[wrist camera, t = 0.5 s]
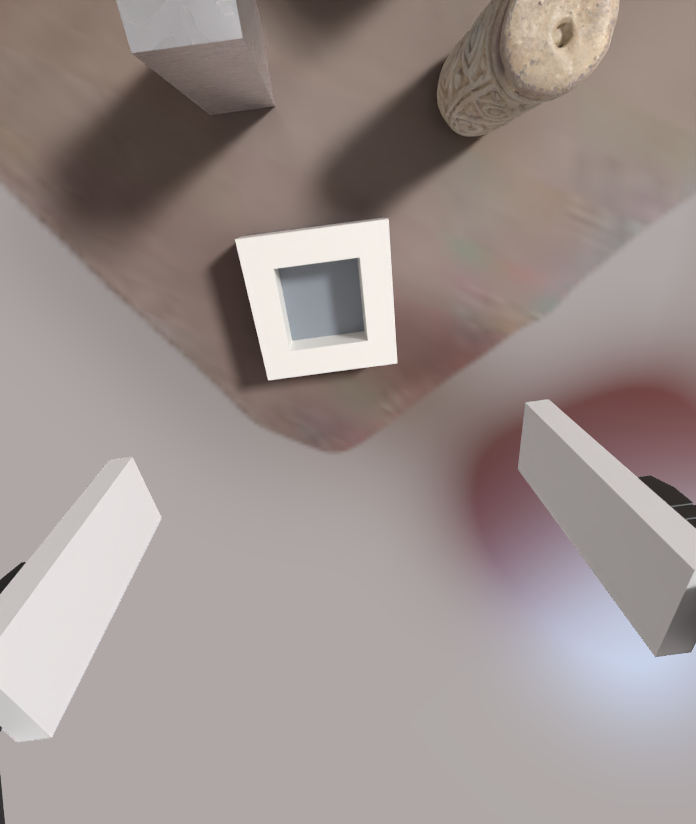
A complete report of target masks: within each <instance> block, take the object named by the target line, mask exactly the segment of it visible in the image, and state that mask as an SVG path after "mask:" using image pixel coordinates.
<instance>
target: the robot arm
mask: <svg viewBox="0 0 696 824" xmlns="http://www.w3.org/2000/svg"><path fill="white" fill-rule="evenodd" d="M518 470H519V471H520V472H521V474H522V475H523V476H524V478H525V479H526V481H527V482H528V483H529V485H530V486H531V488H532V489H533V490H534V492H535V493H536V494H537V496H538V497H539V498H540V500H541V501H542V503H543V504H544V505H545V507H546V508H547V509H548V511H549V512H550V514H551V515H552V516H553V518H554V519H555V520H556V522H557V523H558V524H559V526H560V527H561V528H562V530H563V531H564V533H565V534H566V535H567V537H568V538H569V540H570V541H571V542H572V544H573V545H574V546H575V548H576V549H577V550H578V552H579V553H580V555H581V556H582V557H583V559H584V560H585V561H586V563H587V564H588V566H589V567H590V568H591V569H592V571H593V572H594V574H595V575H596V576H597V578H598V579H599V580H600V582H601V583H602V585H603V586H604V587H605V589H606V590H607V591H608V593H609V594H610V596H611V597H612V598H613V600H614V601H615V602H616V604H617V605H618V607H619V608H620V609H621V611H622V612H623V613H624V615H625V616H626V617H627V618H628V620H629V621H630V623H631V624H632V626H633V627H634V628H635V630H636V631H637V632H638V634H639V635H640V636H641V638H642V639H643V641H644V642H645V643H646V645H647V646H648V647H649V649H650V650H651V652H652V653H653V654H654V656H655V657H659V656H666V655H674V654H681V653H689V652H691V651H692V649H693V647H694V645H695V643H696V505H693V504H692V502H691V501H690V500H689V499H688V498H687V497H685V496H684V495H683V494H682V493H680V492H679V491H678V490H677V489H676V488H674V487H672V486H670V485H668V484H666V483H664V482H662V481H660V480H658V479H656V478H654V477H652V476H644V477H636V476H635V475H634V474H633V473H632V472H631V471H629V470H628V469H627V468H626V467H625V466H624V465H623V464H621V463H620V462H619V461H618V460H617V459H616V458H615V457H613V456H612V455H611V454H610V453H609V452H608V451H607V450H606V449H604V448H603V447H602V446H601V445H600V444H599V443H598V442H596V441H595V440H594V439H593V438H592V437H591V436H590V435H588V434H587V433H586V432H585V431H584V430H583V429H582V428H580V427H579V426H578V425H577V424H576V423H575V422H574V421H572V420H571V419H570V418H569V417H568V416H567V415H566V414H565V413H563V412H562V411H561V410H560V409H559V408H557V407H556V406H555V405H554V404H553V403H552V402H551V401H550V400H549V399H548V400H540V401H534V402H526V403H525V411H524V420H523V429H522V438H521V449H520V457H519V466H518ZM160 520H161V516H160V514H159V511H158V509H157V507H156V505H155V503H154V501H153V499H152V497H151V495H150V493H149V491H148V489H147V486H146V485H145V483H144V480H143V478H142V476H141V474H140V472H139V470H138V468H137V466H136V463H135V461H134V459H133V457H127V458H120V459H113V460H109V461H108V462H107V464H106V465H105V466H104V467H103V469H102V470H101V471H100V472H99V473H98V475H97V476H96V477H95V478H94V480H93V481H92V482H91V483H90V485H89V486H88V487H87V488H86V489H85V491H84V492H83V493H82V495H81V496H80V497H79V498H78V499H77V501H76V502H75V503H74V504H73V505H72V507H71V508H70V509H69V510H68V512H67V513H66V514H65V515H64V517H63V518H62V519H61V520H60V522H59V523H58V524H57V525H56V526H55V528H54V529H53V530H52V531H51V533H50V534H49V535H48V536H47V538H46V539H45V540H44V541H43V542H42V544H41V545H40V546H39V547H38V548H37V550H36V551H35V552H34V553H33V555H32V556H31V557H30V558H29V560H28V561H27V562H23V563H20V564H19V565H18V566H17V567H15V568H14V569H13V570H12V571H11V572H9V573H8V574H7V575H6V576H4V577H3V578H2V579H1V580H0V731H1V729H2V730H3V731H4V732H5V733H7V734H8V735H9V736H10V737H11V738H12V739H14V740H15V741H16V742H23V741H30V740H37V739H45V738H52V736H53V734H54V732H55V730H56V728H57V726H58V724H59V722H60V720H61V718H62V716H63V714H64V712H65V710H66V708H67V706H68V704H69V702H70V700H71V698H72V696H73V694H74V692H75V690H76V688H77V686H78V684H79V682H80V680H81V678H82V676H83V674H84V672H85V670H86V668H87V666H88V664H89V662H90V660H91V658H92V656H93V654H94V652H95V650H96V648H97V646H98V644H99V642H100V640H101V638H102V636H103V634H104V632H105V630H106V628H107V626H108V624H109V622H110V620H111V618H112V616H113V614H114V612H115V610H116V608H117V606H118V604H119V602H120V600H121V598H122V596H123V594H124V592H125V590H126V588H127V586H128V584H129V582H130V580H131V578H132V576H133V574H134V572H135V570H136V568H137V566H138V564H139V562H140V560H141V558H142V556H143V554H144V552H145V550H146V548H147V546H148V544H149V542H150V540H151V538H152V536H153V534H154V532H155V530H156V528H157V526H158V524H159V522H160ZM0 824H5V819H4V809H3V799H2V788H1V777H0Z"/></svg>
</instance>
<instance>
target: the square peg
mask: <svg viewBox="0 0 696 824" xmlns="http://www.w3.org/2000/svg"><path fill="white" fill-rule="evenodd" d="M116 1H117V4H118V8H119V11H120V15H121V18H122V22H123V25H124V29H125V32H126V35H127V39H128V42H129V46H130V49H131V53H132V54H133V55H135V56H136V57H137V58H138V59H140V60H141V61H142V62H143V63H145V64H146V65H147V66H148V67H150V68H151V69H152V70H154V71H155V72H156V73H157V74H159V75H160V76H161V77H162V78H164V79H165V80H166V81H167V82H169V83H170V84H171V85H173V86H174V87H175V88H176V89H178V90H179V91H180V92H181V93H183V94H184V95H185V96H186V97H188V98H189V99H190V100H192V101H193V102H194V103H195V104H197V105H198V106H199V107H200V108H202V109H203V110H204V111H205V112H207V113H208V114H209V115H216V114H224V113H231V112H238V111H246V110H253V109H261V108H268V107H275V102H274V96H273V90H272V84H271V78H270V72H269V66H268V60H267V54H266V47H265V41H264V35H263V29H262V23H261V17H260V14H259V11H258V8H257V5H256V2H255V0H116Z"/></svg>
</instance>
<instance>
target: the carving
mask: <svg viewBox="0 0 696 824" xmlns="http://www.w3.org/2000/svg"><path fill="white" fill-rule="evenodd" d="M618 12H619V0H491V2H490V3H489V4H488V6H487V7H486V8H485V9H484V10H483V11H482V13H481V14H480V15H479V17H478V18H477V20H476V21H475V23H474V24H473V26H472V28H471V30H470V31H468V32H467V33H466V34H465V36H464V37H463V38H462V39H461V40H460V41H459V42H458V44H457V45H456V46H455V47H454V49H453V50H452V52H451V53H450V55H449V56H448V58H447V59H446V61H445V63H444V65H443V67H442V70H441V73H440V77H439V81H438V88H437V102H438V107H439V110H440V112H441V115H442V117H443V118H444V120H445V121H446V122H447V124H448V125H449V127H450V128H451V129H452V130H453V131H455V132H456V133H458V134H460V135H463V136H480V135H484V134H487V133H490V132H492V131H495V130H497V129H499V128H500V127H501V126H504V125H507V124H508V123H510V122H511V121H512V120H513V119H515V118H516V117H518V116H520V115H521V114H523V113H525V112H527V111H529V110H531V109H533V108H535V107H537V106H539V105H540V104H542V103H543V102H548V101H551V100H554V99H556V98H558V97H560V96H562V95H564V94H566V93H568V92H569V91H571V90H572V89H574V88H575V87H577V86H578V85H579V84H580V83H582V82H583V81H584V80H585V79H586V78H587V77H588V76H589V75H590V74H591V73H592V72H593V71H594V70H595V69H596V67H597V66H598V65H599V63H600V62H601V60H602V59H603V57H604V56H605V54H606V52H607V51H608V48H609V46H610V43H611V39H612V34H613V31H614V27H615V24H616V22H617V18H618Z"/></svg>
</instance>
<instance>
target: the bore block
mask: <svg viewBox="0 0 696 824" xmlns="http://www.w3.org/2000/svg"><path fill="white" fill-rule="evenodd" d="M235 242H236V246H237V250H238V255H239V259H240V263H241V267H242V272H243V276H244V280H245V284H246V289H247V293H248V297H249V301H250V305H251V310H252V314H253V318H254V322H255V327H256V331H257V335H258V339H259V344H260V348H261V352H262V356H263V361H264V365H265V369H266V373H267V378H268V380H275V379H283V378H290V377H298V376H305V375H313V374H320V373H328V372H335V371H343V370H350V369H358V368H365V367H373V366H380V365H388V364H395V363H397V350H396V334H395V317H394V301H393V285H392V268H391V252H390V236H389V219H387V218H383V217H379V218H372V219H365V220H357V221H350V222H342V223H335V224H327V225H320V226H312V227H305V228H298V229H290V230H283V231H275V232H268V233H260V234H253V235H245V236H242V237H240V238H237V239H235Z"/></svg>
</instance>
